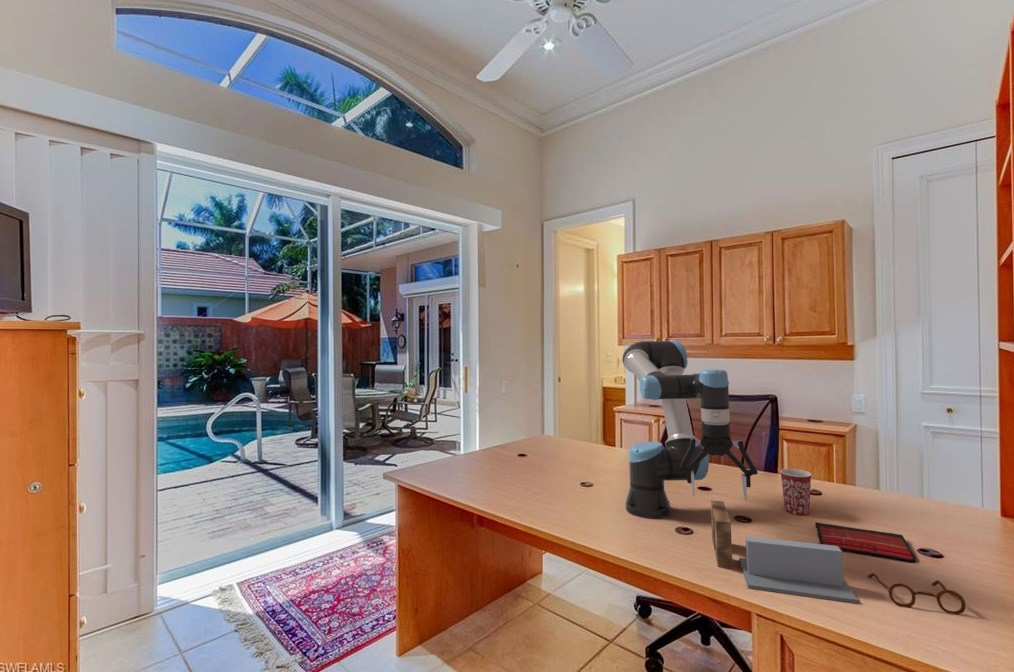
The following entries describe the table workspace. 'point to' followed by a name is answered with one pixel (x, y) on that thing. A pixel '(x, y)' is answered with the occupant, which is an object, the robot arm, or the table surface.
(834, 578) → the stand board
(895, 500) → the table surface
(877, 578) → the glasses
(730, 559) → the brown rectangular block
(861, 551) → the black and red tablet
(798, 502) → the mug
